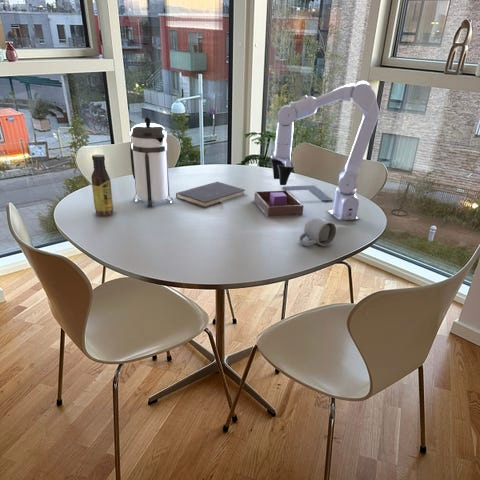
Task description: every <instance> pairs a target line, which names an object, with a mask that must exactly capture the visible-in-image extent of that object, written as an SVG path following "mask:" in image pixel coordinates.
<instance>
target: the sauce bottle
mask: <svg viewBox="0 0 480 480" xmlns="http://www.w3.org/2000/svg"><path fill="white" fill-rule="evenodd" d="M105 157H106V156H105V155H104V154H92V156H91V159H92V163H93V164H92V165H93V171H92V174H91V188H92V198H93V204H94V205H93V206H94V210H95V214H96V216H99V217H100V216H101V217H106V216H111V215H113V214H114V204H113V203H114V202H113V192H112V182H111V178H110V176H109V174H108V171H107V169H106V162H105V161H106V158H105Z"/></svg>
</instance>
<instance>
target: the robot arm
mask: <svg viewBox="0 0 480 480" xmlns="http://www.w3.org/2000/svg"><path fill="white" fill-rule="evenodd" d="M351 99H352V101H353V102H354V103H355V104H356V106H358V107H359V108H360V111H361V113H362V114H363V117H362V120H361V122H360V125H359V128H358V130H357V134H356V136H355V139H354V142H353V145H352V147H351V151H350V154H349V156H348V159H347V162H346V163H345V166H344V168H343V170H342V171H341V172H340V173H339V175H338V184H337V185H338V187H336V189H335V193H334V200H333V206H332V207H333V208H332V210H328V212H329V213H330V214H331V215H332V216H334V217H335V218H336V219H337V220H344V221H351V220H352V221H353V220H359V217H358V212H359V211H358V210H359V203H360V201H359V198H358V197H357V186H358V182H357V178H358V176H359V172H360V167H361V165H362V162H363V160H364V157H365V154H366V152H367V148H368V146H369V143H370V141H371V138H372V135H373V133H374V130H375V126H376V124H377V121H378V119H379V116H380V109H379V104H378V101H377V100H378V99H377V95H376V92H375V90H374V89H373V87H372V85H371V84H370V83H369V82H368V81H366V80H359V81H357V82H356V83H355V82H352V83H349V84H345V85H343V86H340V87H337V88H335V89H333V90H331V91H328V92H326V93H324V94H322V95H319V96H317V97H314V96H312V95H307V94H306V95H303V96H302V98H301V99H299V100H296V101H294V102H293V101H290V102H289V104H284V105H283V106H281V108H280V109H278V112H277V117H276V119H277V128H276V133H275V134H276V135H275V145H274V151H273V154H272V155H270V159H269V161H270V163H271V167H272V175H273V179H274V180H279V186H287V183H288V181H289V177H290V175H291V174H292V172H293V170H294V168H295V166H293V165H292V156H291V154H292V146H293V135H294V121H300V120H302V119H304V118H307V117H309V116H312V115H315V114H316V113H317V111H318V109H319V108H323V107H325V106H327V105H330V104H332V103H336V102H339V101H341V100H342V101H346V102H351Z"/></svg>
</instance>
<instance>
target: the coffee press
mask: <svg viewBox="0 0 480 480" xmlns="http://www.w3.org/2000/svg"><path fill="white" fill-rule="evenodd" d="M144 122H145V123H140V124H136V125H134V126H133V127H132V128H131V131H130V132H129V134H130V137H131V142H130V147H129V152H130V154H129V155H130V166H131V173H132V177H133V179H134V185H135V194H134V197H133V198H132V199H133V201H134V202H138V200H140V201H142V202H147V208H153V203H157V202H162V201H167V202H168V203H170V204H172V203H173V201H174V199H173V197H172V196H171V193H170V178H169V177H170V175H169V155H168V153H169V152H168V143H167V136H168V132H167V131H166V129H165V127H163V126H162V125H160V124H157V123H151V122H152V118H151V117H150V116H146V117H145V118H144ZM136 197H137V199H136ZM169 198H170V200H169Z"/></svg>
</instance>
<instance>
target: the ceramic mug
mask: <svg viewBox="0 0 480 480" xmlns="http://www.w3.org/2000/svg"><path fill="white" fill-rule="evenodd" d="M336 235H337V226H336V224H335V223H334V222H332V221H329V220H326V219H324V218H321V217H317V216H316V217H315V216H313V217H311V218H309V219H308V220H307V221H306V223H305V224H304V228H303V233H302V234H301V235H300V236H299V243H300V244H301V246H305V247H309V246H312V245H314V244H317V245H319V246H320V247H326V246H329V245H330V244H332V243H333V242H334V240H335V238H336ZM305 238H307V239H309V240H307V241H303V240H304V239H305Z"/></svg>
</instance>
